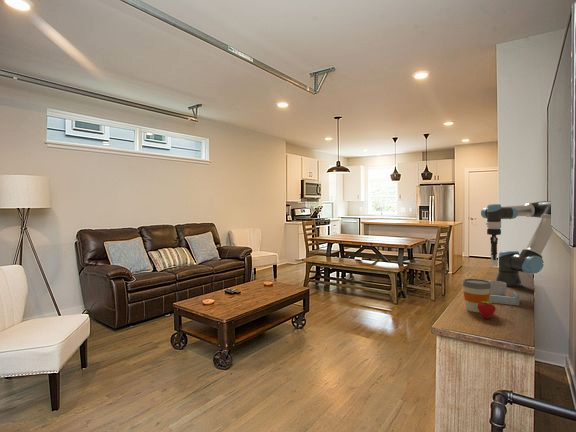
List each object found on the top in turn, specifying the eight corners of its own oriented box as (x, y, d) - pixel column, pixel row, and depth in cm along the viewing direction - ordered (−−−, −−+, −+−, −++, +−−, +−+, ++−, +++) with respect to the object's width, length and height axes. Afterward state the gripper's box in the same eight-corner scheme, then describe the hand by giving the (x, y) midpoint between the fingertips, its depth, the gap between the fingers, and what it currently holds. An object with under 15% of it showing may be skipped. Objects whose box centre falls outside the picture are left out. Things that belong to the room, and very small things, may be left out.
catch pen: (475, 294, 204) (475, 286, 204) (516, 298, 194) (516, 289, 194) (475, 300, 190) (475, 291, 190) (519, 305, 180) (519, 296, 180)
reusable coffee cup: (488, 315, 164) (489, 284, 164) (460, 310, 172) (460, 281, 172) (491, 309, 174) (492, 280, 174) (465, 305, 182) (465, 277, 182)
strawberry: (478, 315, 163) (478, 295, 163) (496, 318, 159) (496, 297, 159) (476, 318, 159) (476, 297, 159) (494, 322, 154) (494, 300, 154)
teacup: (509, 298, 195) (509, 284, 195) (489, 297, 197) (489, 284, 197) (499, 292, 209) (499, 279, 209) (480, 291, 211) (480, 279, 211)
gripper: (486, 227, 223) (486, 261, 223) (487, 229, 205) (487, 266, 205) (499, 227, 219) (499, 262, 220) (502, 229, 201) (502, 266, 201)
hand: (493, 264), depth 212 cm, fingers open, 8 cm apart
